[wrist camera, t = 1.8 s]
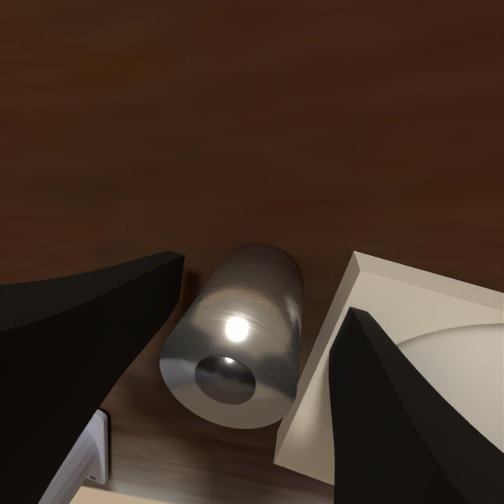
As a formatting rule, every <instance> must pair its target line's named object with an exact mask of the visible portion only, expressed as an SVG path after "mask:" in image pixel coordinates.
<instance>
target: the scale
mask: <svg viewBox="0 0 504 504" xmlns="http://www.w3.org/2000/svg"><path fill="white" fill-rule="evenodd" d="M350 306H351V307H354V308H357V309H361V310H364V311H367V312H369V314H370V315H371V316H372V317H373V318H374V319H375V320H376V321H377V323H378V324H379V325H380V326H381V327H382V329H383V330H384V331H385V332H386V334H387V335H388V336H389V337H390V338H391V340H392V341H393V342H394V343H395V345H396V346H397V347H398V348H399V349H400V350H401V352H402V353H403V354H404V355H405V356H406V358H407V359H408V360H409V361H410V362H411V363H412V364H413V366H414V367H415V368H416V369H417V370H418V371H419V372H420V373H421V374H422V376H423V377H424V378H425V379H426V380H427V381H428V382H429V383H430V384H431V385H432V386H433V387H434V388H435V390H436V391H437V392H438V393H439V394H440V395H441V396H442V397H443V398H444V399H445V400H446V401H447V402H448V403H449V404H450V405H451V406H453V407H454V408H455V409H456V410H457V411H458V412H459V413H460V414H461V415H462V416H463V417H464V418H465V419H466V420H467V421H468V422H469V423H470V424H471V425H472V426H473V427H475V428H476V429H477V430H478V431H479V432H480V433H481V434H482V435H483V436H485V437H486V438H487V439H488V440H489V441H490V442H491V443H493V444H494V445H495V446H496V447H497V448H498V449H500V450H501V451H502V452H503V453H504V293H501V292H497V291H494V290H490V289H487V288H483V287H480V286H476V285H473V284H469V283H465V282H462V281H458V280H455V279H451V278H448V277H444V276H441V275H437V274H434V273H430V272H426V271H423V270H419V269H416V268H412V267H409V266H405V265H402V264H398V263H395V262H391V261H388V260H384V259H380V258H377V257H373V256H370V255H366V254H363V253H359V252H356V251H354V252H353V254H352V257H351V259H350V261H349V264H348V266H347V268H346V271H345V273H344V275H343V278H342V280H341V283H340V285H339V287H338V290H337V292H336V294H335V297H334V299H333V301H332V304H331V306H330V309H329V311H328V313H327V316H326V318H325V320H324V323H323V325H322V327H321V330H320V332H319V335H318V337H317V339H316V342H315V344H314V346H313V349H312V351H311V353H310V356H309V358H308V361H307V363H306V365H305V368H304V370H303V372H302V375H301V377H300V379H299V382H298V384H297V394H296V399H295V402H294V404H293V406H292V408H291V410H290V411H289V412H288V413H287V414H286V415H285V416H284V417H283V420H282V422H281V424H280V427H279V429H278V432H277V440H276V448H275V456H274V464H277V465H279V466H282V467H285V468H288V469H290V470H293V471H296V472H298V473H301V474H304V475H306V476H309V477H312V478H315V479H317V480H320V481H323V482H325V483H328V484H331V485H334V470H335V459H334V440H333V428H332V417H331V405H330V393H329V379H328V370H329V352H330V348H331V346H332V344H333V342H334V340H335V337H336V335H337V333H338V331H339V329H340V327H341V324H342V322H343V320H344V318H345V316H346V314H347V311H348V309H349V307H350Z"/></svg>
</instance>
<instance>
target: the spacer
mask: <svg viewBox="0 0 504 504" xmlns="http://www.w3.org/2000/svg"><path fill="white" fill-rule="evenodd" d="M303 295H304V279H303V275H302V272H301V269H300V268H299V266H298V264H297V263H296V261H295V260H294V259H293V258H292V257H291V256H290V255H289V254H288V253H286V252H285V251H283V250H282V249H280V248H278V247H275V246H273V245H269V244H264V243H251V244H246V245H242V246H240V247H238V248H236V249H234V250H233V251H232V252H230V253H229V254H228V255H227V257H226V258H225V259H224V260H223V262H222V263H221V265H220V266H219V267H218V269H217V270H216V271H215V273H214V274H213V276H212V277H211V278H210V280H209V281H208V283H207V284H206V285H205V287H204V288H203V289H202V291H201V292H200V294H199V295H198V296H197V298H196V299H195V300H194V302H193V303H192V305H191V306H190V307H189V309H188V310H187V311H186V313H185V314H184V316H183V317H182V318H181V320H180V321H179V322H178V324H177V325H176V327H175V328H174V329H173V331H172V332H171V333H170V335H169V336H168V338H167V339H166V341H165V342H164V344H163V346H162V349H161V352H160V370H161V373H162V377H163V379H164V381H165V383H166V385H167V387H168V388H169V390H170V391H171V393H172V394H173V395H174V396H175V397H176V399H177V400H178V401H179V402H180V403H182V404H183V405H184V406H185V407H186V408H187V409H189V410H190V411H192V412H193V413H195V414H196V415H198V416H200V417H202V418H204V419H206V420H208V421H210V422H213V423H215V424H219V425H222V426H226V427H231V428H238V429H253V428H260V427H264V426H268V425H271V424H273V423H275V422H277V421H279V420H280V419H282V418H283V417H284V416H285V415H286V414H287V413H288V412H289V411H290V410H291V408H292V406H293V404H294V402H295V399H296V394H297V384H298V369H299V354H300V339H301V324H302V309H303Z"/></svg>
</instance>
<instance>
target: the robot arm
mask: <svg viewBox="0 0 504 504" xmlns="http://www.w3.org/2000/svg"><path fill="white" fill-rule="evenodd" d="M184 258H185V255H182V254H178V253H175V252H172V251H166V252H161V253H157V254H154V255H150V256H147V257H143V258H140V259H136V260H133V261H130V262H126V263H123V264H119V265H115V266H111V267H107V268H103V269H99V270H95V271H91V272H87V273H82V274H77V275H72V276H67V277H61V278H55V279H49V280H42V281H34V282H25V283H16V284H7V285H0V504H69V503H70V502H71V500H72V498H73V497H74V495H75V494H76V492H77V491H78V490H79V488H80V487H81V485H82V484H83V482H84V481H85V479H89V480H91V481H93V482H96V483H98V484H105V483H106V481H107V479H108V430H107V415H106V414H105V413H104V412H102V411H100V410H98V408H99V406H100V405H101V404H102V402H103V401H104V399H105V398H106V396H107V395H108V393H109V392H110V390H111V389H112V388H113V386H114V385H115V383H116V382H117V380H118V379H119V378H120V377H121V375H122V374H123V373H124V371H125V370H126V369H127V368H128V366H129V365H130V364H131V363H132V362H133V360H134V359H135V358H136V357H137V356H138V354H139V353H140V352H141V351H142V350H143V349H144V347H145V346H146V345H147V344H148V343H149V341H150V340H151V339H152V338H153V337H154V335H155V334H156V333H157V332H158V331H159V329H160V328H161V327H162V326H163V324H164V323H165V322H166V321H167V319H168V318H169V316H170V314H171V313H172V311H173V310H174V308H175V306H176V305H177V303H178V301H179V298H180V290H181V282H182V274H183V266H184ZM328 379H329V393H330V405H331V417H332V428H333V440H334V459H335V470H334V504H504V453H503V452H502V451H501V450H500V449H498V448H497V447H496V446H495V445H494V444H493V443H491V442H490V441H489V440H488V439H487V438H486V437H485V436H483V435H482V434H481V433H480V432H479V431H478V430H477V429H476V428H475V427H473V426H472V425H471V424H470V423H469V422H468V421H467V420H466V419H465V418H464V417H463V416H462V415H461V414H460V413H459V412H458V411H457V410H456V409H455V408H454V407H453V406H451V405H450V404H449V403H448V402H447V401H446V400H445V399H444V398H443V397H442V396H441V395H440V394H439V393H438V392H437V391H436V390H435V388H434V387H433V386H432V385H431V384H430V383H429V382H428V381H427V380H426V379H425V378H424V377H423V376H422V374H421V373H420V372H419V371H418V370H417V369H416V368H415V367H414V366H413V364H412V363H411V362H410V361H409V360H408V359H407V358H406V356H405V355H404V354H403V353H402V352H401V350H400V349H399V348H398V347H397V346H396V345H395V343H394V342H393V341H392V340H391V338H390V337H389V336H388V335H387V334H386V332H385V331H384V330H383V329H382V327H381V326H380V325H379V324H378V323H377V321H376V320H375V319H374V318H373V317H372V316H371V315H370V314H369V312H367V311H364V310H361V309H357V308H354V307H351V306H350V307H349V309H348V311H347V314H346V316H345V318H344V320H343V322H342V324H341V327H340V329H339V331H338V333H337V335H336V337H335V340H334V342H333V344H332V346H331V348H330V352H329V370H328Z"/></svg>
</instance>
